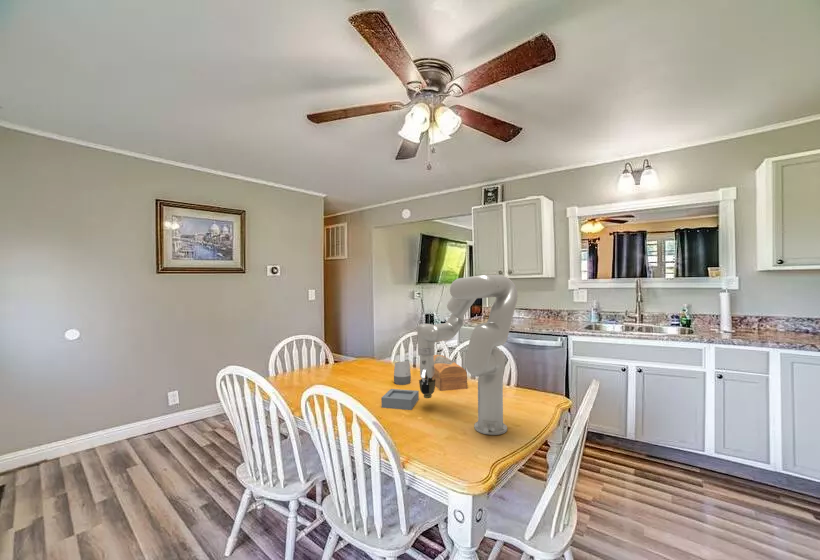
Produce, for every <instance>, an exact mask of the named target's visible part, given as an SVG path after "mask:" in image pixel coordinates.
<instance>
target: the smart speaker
mask: <svg viewBox="0 0 820 560" xmlns="http://www.w3.org/2000/svg"><path fill="white" fill-rule="evenodd" d="M411 380H412V375H411V365H410V360H403V361H399V362H394V370H393V383H394V385H398V386H407V385H409V384H410V383H411Z"/></svg>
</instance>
